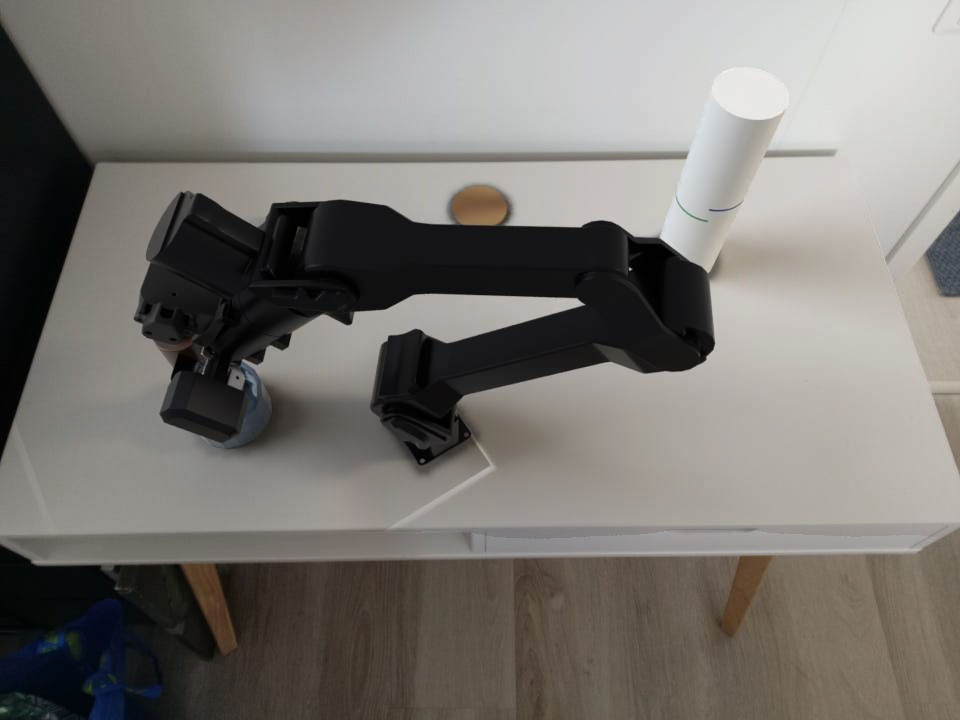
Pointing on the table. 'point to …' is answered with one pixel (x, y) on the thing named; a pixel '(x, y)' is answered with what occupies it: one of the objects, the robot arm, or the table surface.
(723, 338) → the table surface
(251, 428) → the bowl
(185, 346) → the pepper mill
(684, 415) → the table surface
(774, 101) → the cylindrical container
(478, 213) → the coaster
